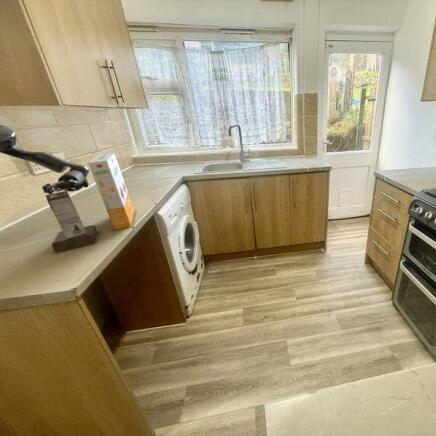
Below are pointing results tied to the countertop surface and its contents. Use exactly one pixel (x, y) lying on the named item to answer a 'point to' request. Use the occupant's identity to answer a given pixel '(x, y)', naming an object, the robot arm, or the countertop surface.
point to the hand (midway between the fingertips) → (63, 189)
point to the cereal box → (112, 189)
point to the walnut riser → (75, 240)
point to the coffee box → (66, 214)
